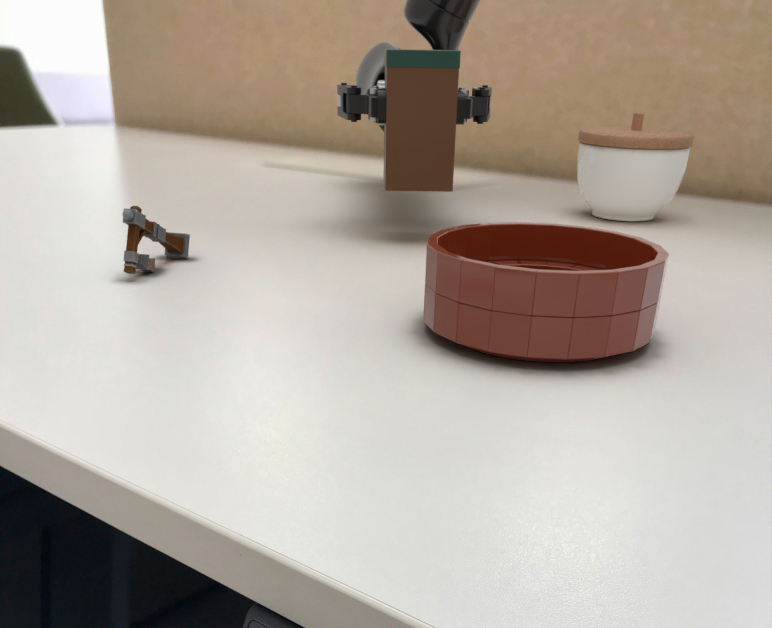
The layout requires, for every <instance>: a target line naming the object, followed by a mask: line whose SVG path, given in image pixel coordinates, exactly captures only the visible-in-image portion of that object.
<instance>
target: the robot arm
mask: <svg viewBox="0 0 772 628" xmlns="http://www.w3.org/2000/svg"><path fill="white" fill-rule="evenodd" d="M480 1H481V0H405V2H404V6H403V17H404V19H405V21H406V22H407V24H408V25H409V26H410V27H411V28H412V29H413V30H414V31H415V32H416V33H417V34H419V36H421V37H422V38H423V39H424V41H425V42H426V43H427V44H428V45H429V47H430V50H459V48H460V46H461V43H462V40H463V38H464V35H465V33H466V31H467V28H468V26H469V24H470V21H471V20H472V18H473V16H474V13H475V12H476V9H477V8H478V5H479V3H480ZM385 49H402V48H401V47H398V46H397V45H396V44H393V43H392V42H390V41H380V42H377V43H375V44H374V45H373V46H371V47H370V48H369V49H368V51H366V53H365V54H364V55H363V57H362V59H361V60H360V62H359V64H358V67H357V70H356V73H355V78H354V79H355V80H354V84H353V85H352V84H348V83H347V82H341V83H340V84H336V94H337V95H336V106H337V107H336V109H337V116H338V117H340V118H342V119H344V120H347V121H350V122H351V123H357V122H358V121H361V120H362V115H367V121H368V122H371V123H372V124H377V126H379V128H380V130H381V131H382V132H383V133H384V123H386V91H385V66H384V50H385ZM492 91H493V87H492V86H489V85H486V84H483V85H481V86H478V87H475V86H474V87H473V86H472V87H471V95H470V89H466V87H461V86H458V99H457V118H456V126H458V125H462V126H463V125H465V123H468V120H471V119H472V122H473V123H476V124H477V125H483V124H484V123H488V122H489V120H490V118H491V107H492Z"/></svg>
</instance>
